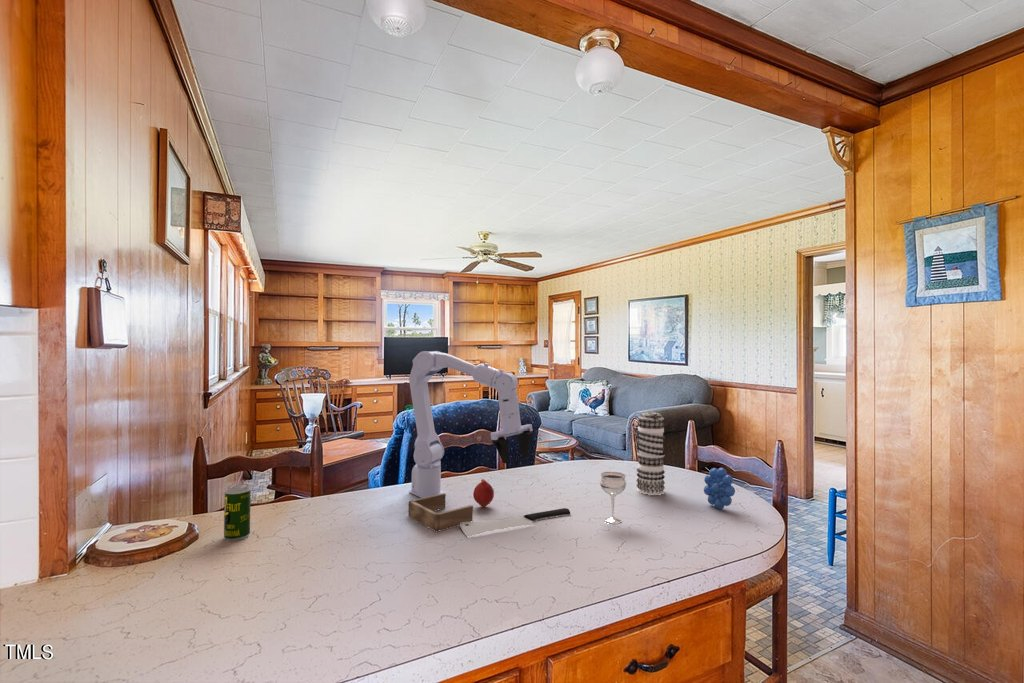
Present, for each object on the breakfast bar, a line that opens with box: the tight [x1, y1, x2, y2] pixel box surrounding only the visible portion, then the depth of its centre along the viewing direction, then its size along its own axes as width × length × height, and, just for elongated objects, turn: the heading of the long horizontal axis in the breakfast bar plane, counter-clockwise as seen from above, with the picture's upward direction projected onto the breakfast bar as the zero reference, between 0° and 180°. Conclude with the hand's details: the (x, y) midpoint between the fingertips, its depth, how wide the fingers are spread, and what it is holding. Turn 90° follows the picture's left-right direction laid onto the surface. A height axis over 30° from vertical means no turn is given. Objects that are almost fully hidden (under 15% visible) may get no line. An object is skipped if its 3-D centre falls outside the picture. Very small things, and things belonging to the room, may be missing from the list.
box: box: [407, 493, 474, 532], centre depth 125 cm, size 14×11×4 cm
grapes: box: [703, 467, 736, 510], centre depth 135 cm, size 12×7×12 cm, turn 16°
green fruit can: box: [223, 483, 252, 542], centre depth 112 cm, size 5×5×12 cm
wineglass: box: [599, 471, 627, 523], centre depth 125 cm, size 7×7×12 cm
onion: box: [472, 478, 495, 508], centre depth 135 cm, size 6×6×8 cm
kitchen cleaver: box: [459, 507, 571, 537], centre depth 122 cm, size 31×2×10 cm
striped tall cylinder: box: [635, 411, 667, 496], centre depth 151 cm, size 9×9×25 cm
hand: (515, 460), depth 139 cm, fingers open, 7 cm apart
